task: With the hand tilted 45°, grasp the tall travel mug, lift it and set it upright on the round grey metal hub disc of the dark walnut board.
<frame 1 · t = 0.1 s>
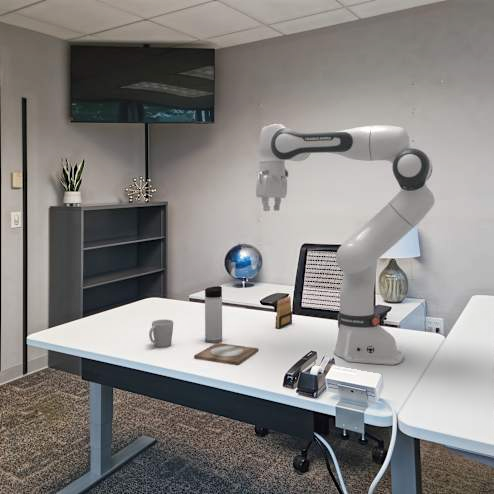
hand: (271, 210, 174), 48 cm above the table, tool pointing down, fingers open, 8 cm apart
cup: (160, 346, 175), on the table
travel mug: (214, 341, 182), on the table
ammunition clip: (284, 326, 203), on the table
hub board: (227, 354, 165), on the table
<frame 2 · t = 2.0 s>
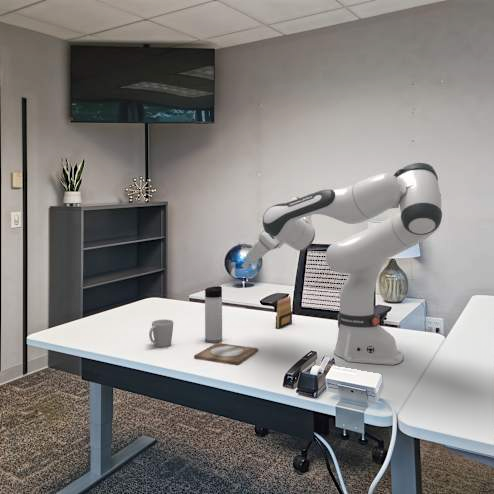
hand: (246, 263, 172), 30 cm above the table, tool tilted 45°, fingers open, 8 cm apart
nothing on the table moved.
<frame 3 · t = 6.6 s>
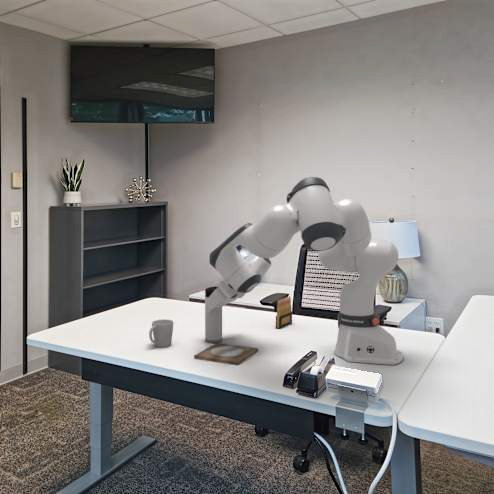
hand: (212, 310, 181), 11 cm above the table, tool tilted 45°, fingers closed on travel mug, 6 cm apart
travel mug: (214, 341, 182), on the table, touching gripper
everything else where it was.
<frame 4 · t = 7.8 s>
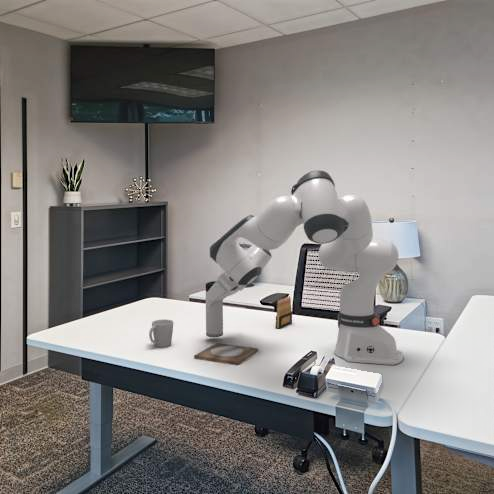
hand: (212, 302, 181), 14 cm above the table, tool tilted 45°, fingers closed on travel mug, 6 cm apart
travel mug: (214, 335, 182), point 2 cm above the table, touching gripper
everything else where it was.
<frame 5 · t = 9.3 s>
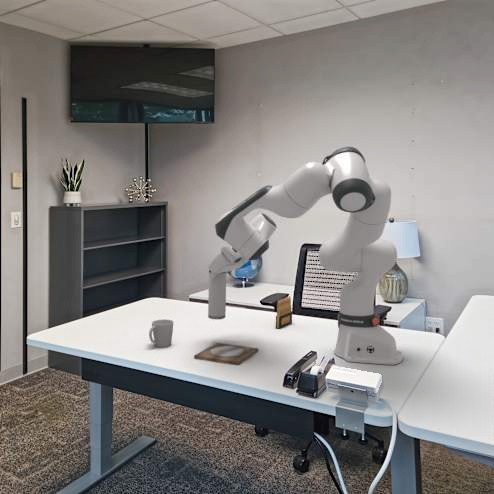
hand: (216, 276, 177), 24 cm above the table, tool tilted 45°, fingers closed on travel mug, 6 cm apart
travel mug: (217, 317, 179), point 9 cm above the table, touching gripper
everything else where it was.
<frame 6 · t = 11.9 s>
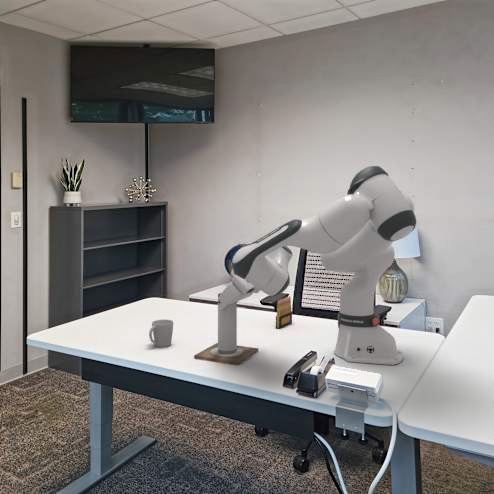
hand: (225, 306, 164), 16 cm above the table, tool tilted 45°, fingers open, 6 cm apart
travel mug: (227, 351, 165), point 1 cm above the table, touching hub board
everything else where it was.
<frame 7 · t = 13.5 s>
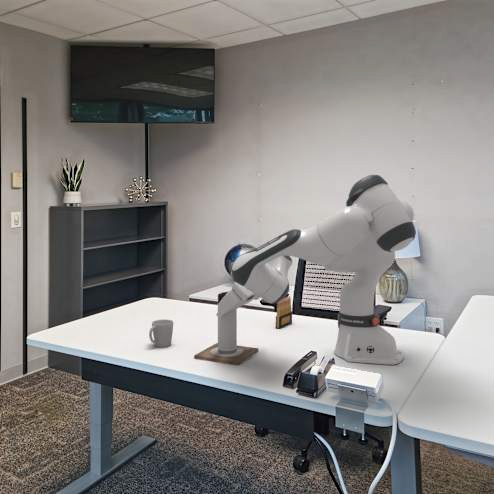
hand: (225, 313, 164), 14 cm above the table, tool tilted 45°, fingers open, 8 cm apart
nothing on the table moved.
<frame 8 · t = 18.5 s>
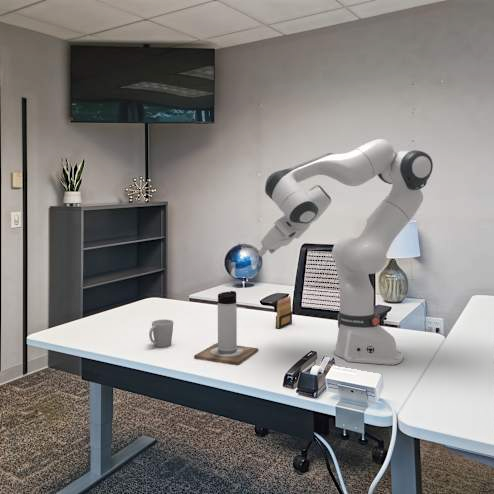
hand: (265, 253, 170), 33 cm above the table, tool tilted 45°, fingers open, 8 cm apart
nothing on the table moved.
at the end: travel mug inside the target area on the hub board (0.6 cm from its centre), point 1.1 cm above the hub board's base; travel mug tilted 0°; the gripper is holding nothing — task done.
